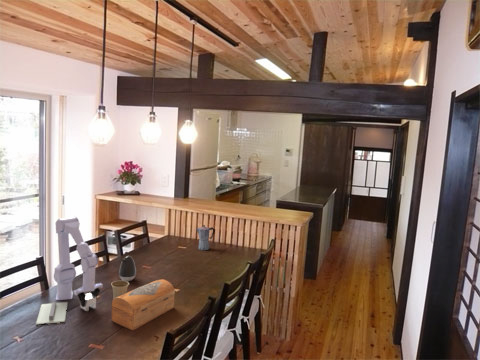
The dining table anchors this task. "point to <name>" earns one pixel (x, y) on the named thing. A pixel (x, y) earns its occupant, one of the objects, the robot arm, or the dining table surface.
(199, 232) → the moka pot
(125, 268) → the egg shaped speaker
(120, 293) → the flower pot
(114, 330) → the dining table surface
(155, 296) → the wooden box
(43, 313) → the rail plate
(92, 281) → the robot arm
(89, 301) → the block
